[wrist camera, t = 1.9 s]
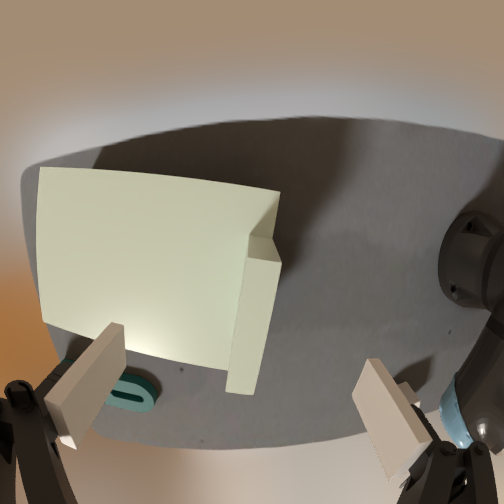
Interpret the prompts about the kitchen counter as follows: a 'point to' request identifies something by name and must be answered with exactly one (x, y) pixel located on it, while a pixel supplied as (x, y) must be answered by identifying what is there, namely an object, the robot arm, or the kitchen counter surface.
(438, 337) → the kitchen counter surface
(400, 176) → the kitchen counter surface
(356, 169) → the kitchen counter surface
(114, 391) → the bracket
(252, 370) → the pale green l-shaped plate
